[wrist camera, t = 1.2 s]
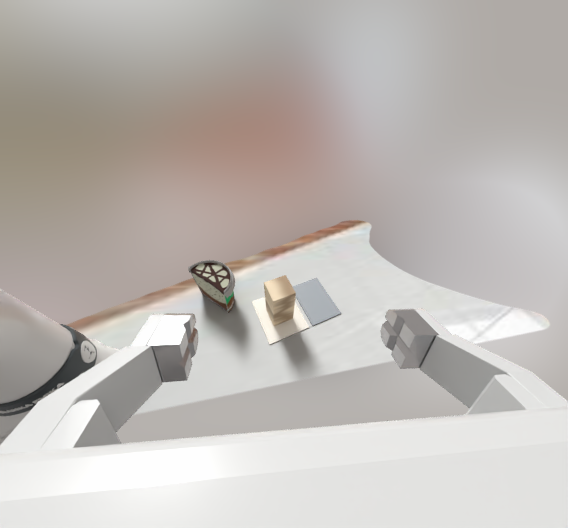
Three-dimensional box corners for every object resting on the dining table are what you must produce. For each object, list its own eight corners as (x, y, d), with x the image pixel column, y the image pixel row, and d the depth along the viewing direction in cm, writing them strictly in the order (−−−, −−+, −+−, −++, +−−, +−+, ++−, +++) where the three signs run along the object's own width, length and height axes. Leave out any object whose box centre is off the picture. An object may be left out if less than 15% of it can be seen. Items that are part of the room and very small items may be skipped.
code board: (269, 344, 49) (269, 344, 49) (251, 301, 56) (251, 301, 56) (340, 313, 55) (341, 313, 54) (316, 278, 62) (316, 277, 61)
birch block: (273, 326, 52) (273, 301, 43) (266, 309, 55) (263, 282, 46) (293, 318, 53) (295, 292, 45) (284, 302, 56) (285, 275, 48)
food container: (249, 298, 57) (245, 274, 49) (232, 316, 53) (225, 292, 46) (215, 276, 61) (207, 251, 54) (198, 291, 58) (186, 266, 50)
